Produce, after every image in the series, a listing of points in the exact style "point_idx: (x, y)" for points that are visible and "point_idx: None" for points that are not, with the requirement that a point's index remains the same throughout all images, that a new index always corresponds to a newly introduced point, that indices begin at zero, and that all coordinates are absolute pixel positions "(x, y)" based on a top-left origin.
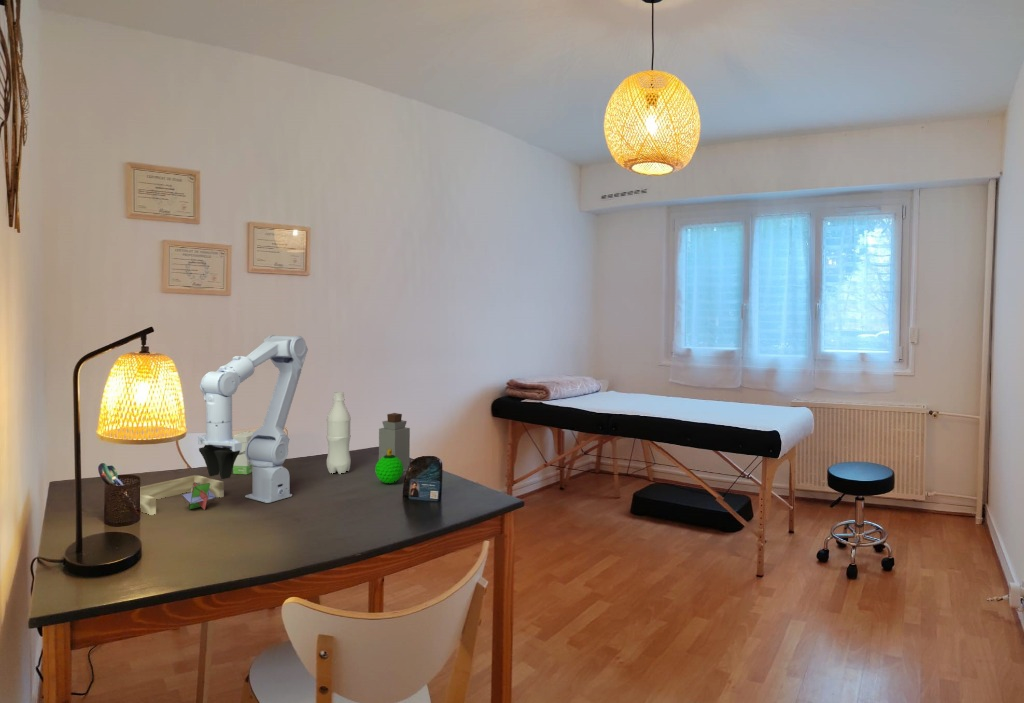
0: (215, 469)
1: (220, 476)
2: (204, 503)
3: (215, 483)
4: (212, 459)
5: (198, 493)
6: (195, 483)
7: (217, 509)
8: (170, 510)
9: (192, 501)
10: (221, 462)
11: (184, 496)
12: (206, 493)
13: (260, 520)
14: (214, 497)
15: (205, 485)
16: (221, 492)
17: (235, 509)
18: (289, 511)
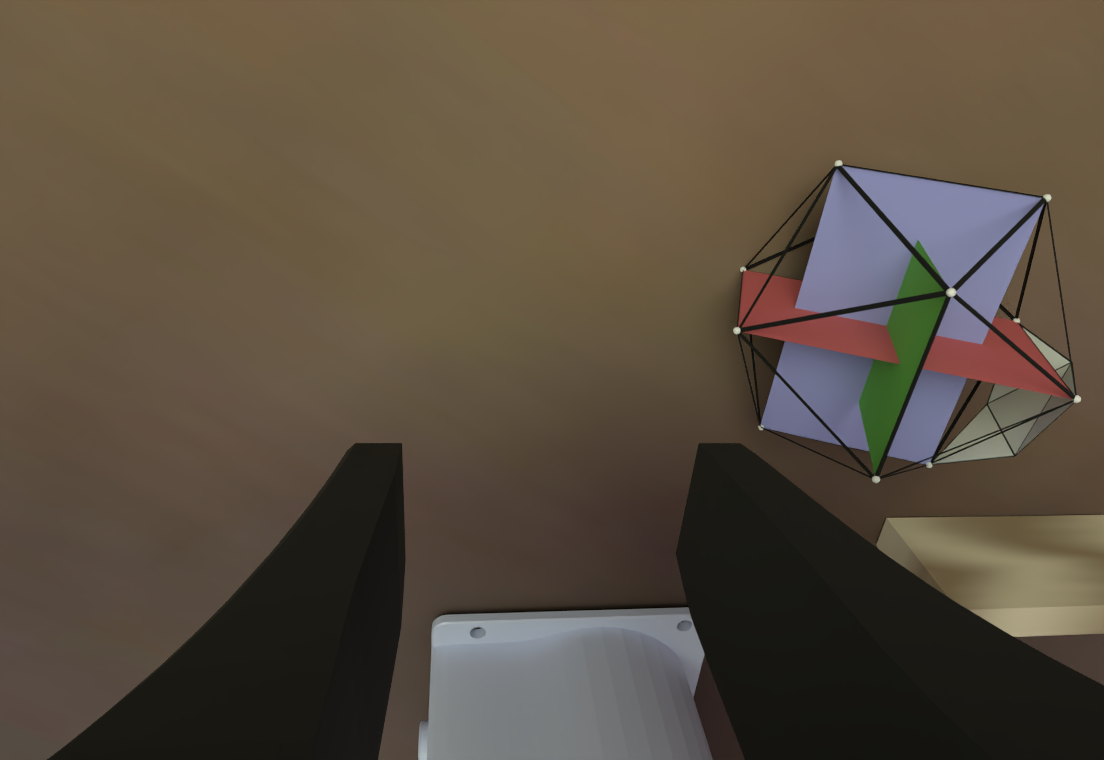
0: (713, 583)
1: (387, 458)
2: (769, 294)
3: (1004, 596)
4: (827, 732)
5: (897, 323)
6: (1059, 409)
7: (665, 345)
8: (1048, 94)
9: (856, 207)
10: (134, 691)
11: (998, 200)
12: (863, 398)
13: (54, 361)
14: (770, 414)
15: (889, 424)
16: (901, 556)
17: (529, 421)
18: (124, 600)
